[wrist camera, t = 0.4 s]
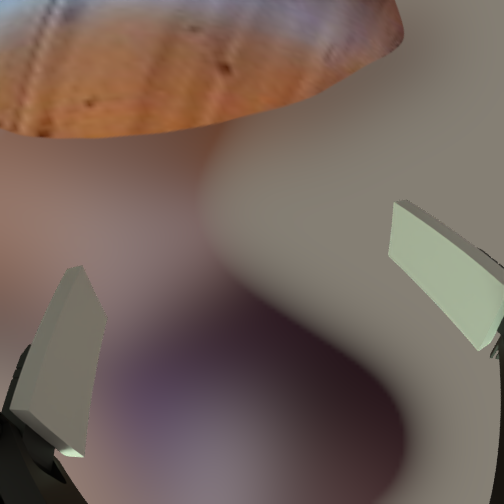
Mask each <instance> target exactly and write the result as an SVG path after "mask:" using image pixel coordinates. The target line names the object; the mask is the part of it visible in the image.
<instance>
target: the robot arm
mask: <svg viewBox="0 0 504 504" xmlns="http://www.w3.org/2000/svg"><path fill="white" fill-rule="evenodd" d="M388 256H389V257H390V258H391V259H392V260H393V261H394V262H395V263H396V264H398V265H399V266H400V268H402V269H403V270H404V271H405V272H406V273H407V274H408V275H409V276H410V277H411V278H412V279H413V280H414V281H415V282H416V283H417V285H418V286H419V287H420V288H421V289H422V290H423V291H424V292H425V293H426V294H427V295H428V296H429V297H430V298H431V299H432V300H433V301H434V302H435V303H436V304H437V305H438V306H439V307H440V309H441V310H442V311H443V312H444V313H445V314H446V315H447V316H448V317H449V318H450V319H451V320H452V322H453V323H454V324H455V325H456V326H457V327H458V328H459V329H460V330H461V332H462V333H463V334H464V335H465V336H466V338H467V339H468V340H469V341H470V342H471V343H472V345H473V346H474V347H475V348H476V349H477V351H479V350H480V349H482V348H484V347H485V346H487V345H488V344H490V343H491V341H492V339H493V337H494V335H495V333H496V331H498V332H499V333H500V334H501V336H500V338H499V339H498V341H497V343H496V345H495V347H494V348H493V350H492V352H491V354H490V358H493V356H494V354H495V353H496V351H497V350H499V352H498V354H497V356H496V359H499V362H500V380H501V418H500V437H499V448H498V457H497V465H496V472H495V478H494V484H493V490H492V495H491V499H490V503H489V504H504V267H503V266H502V265H500V264H498V263H497V261H495V260H494V259H492V258H491V257H490V256H489V255H488V254H487V253H485V252H484V251H483V250H481V249H479V248H477V247H475V246H474V245H473V244H471V243H470V242H469V241H467V240H466V239H465V238H463V237H462V236H460V235H459V234H457V233H456V232H455V231H453V230H452V229H451V228H449V227H448V226H446V225H445V224H444V223H442V222H441V221H439V220H438V219H436V218H435V217H433V216H432V215H430V214H429V213H427V212H426V211H424V210H422V209H421V208H419V207H418V206H416V205H415V204H413V203H412V202H410V201H408V200H402V201H396V202H394V207H393V219H392V229H391V237H390V246H389V253H388ZM106 322H107V316H106V314H105V312H104V310H103V308H102V306H101V304H100V302H99V300H98V298H97V296H96V294H95V292H94V290H93V287H92V285H91V283H90V281H89V279H88V277H87V275H86V272H85V270H84V268H83V266H78V267H73V268H69V269H67V270H66V272H65V274H64V276H63V278H62V280H61V281H60V284H59V285H58V287H57V289H56V291H55V293H54V295H53V297H52V300H51V302H50V304H49V306H48V308H47V310H46V312H45V315H44V317H43V319H42V321H41V323H40V326H39V328H38V330H37V333H36V335H35V337H34V340H33V342H32V344H31V345H28V347H27V348H26V349H25V351H24V352H23V353H22V355H21V356H20V359H19V362H18V364H17V367H16V368H17V370H15V372H14V375H13V379H12V380H11V383H10V386H9V389H8V392H7V396H6V399H5V402H4V405H3V408H2V412H0V504H88V503H87V502H86V501H85V499H84V498H83V497H82V495H81V494H80V492H79V491H78V489H77V488H76V486H75V485H74V483H73V482H72V480H71V479H70V477H69V476H68V474H67V473H66V471H65V470H64V468H63V466H62V465H61V463H60V461H59V460H58V459H57V458H56V457H55V456H54V449H55V448H56V449H57V450H58V451H59V452H61V453H62V454H64V455H65V456H73V457H84V456H85V446H86V436H87V427H88V419H89V410H90V404H91V397H92V391H93V384H94V379H95V374H96V368H97V363H98V358H99V353H100V348H101V343H102V339H103V335H104V330H105V325H106Z"/></svg>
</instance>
